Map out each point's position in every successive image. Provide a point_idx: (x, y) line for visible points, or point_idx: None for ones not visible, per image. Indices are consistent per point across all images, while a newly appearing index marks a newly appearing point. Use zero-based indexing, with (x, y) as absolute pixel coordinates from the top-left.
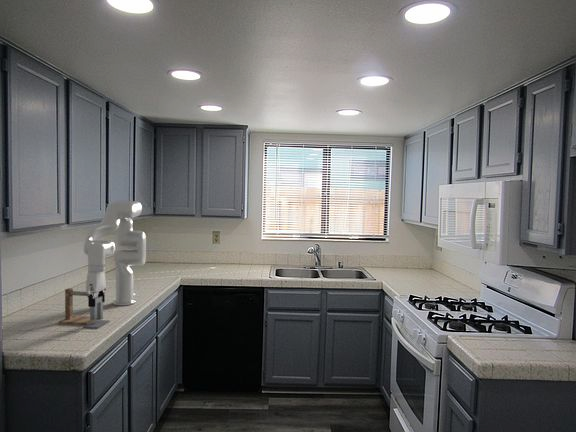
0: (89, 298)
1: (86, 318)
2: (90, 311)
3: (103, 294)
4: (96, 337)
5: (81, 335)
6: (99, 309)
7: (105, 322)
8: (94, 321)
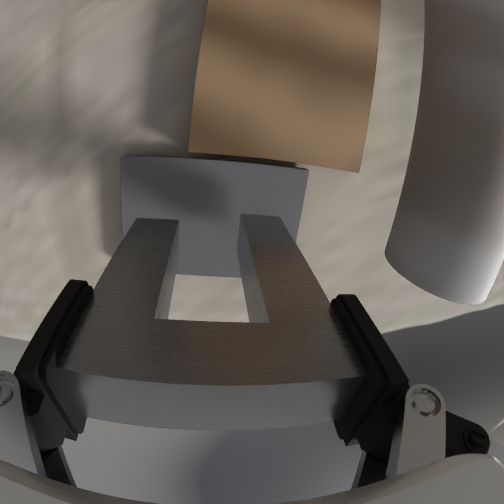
0: (7, 392)
1: (316, 98)
2: (115, 257)
3: (347, 442)
4: (25, 309)
5: (16, 227)
6: (246, 292)
7: (237, 273)
8: (261, 183)
